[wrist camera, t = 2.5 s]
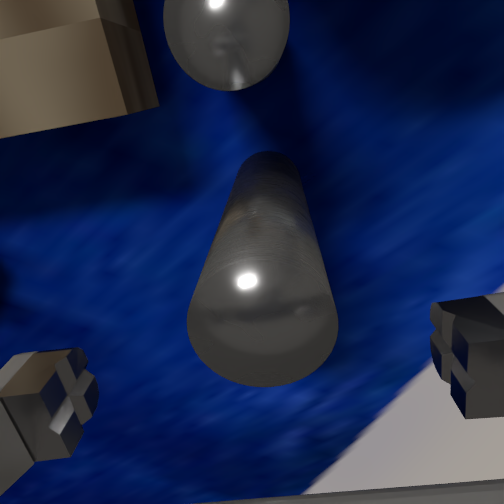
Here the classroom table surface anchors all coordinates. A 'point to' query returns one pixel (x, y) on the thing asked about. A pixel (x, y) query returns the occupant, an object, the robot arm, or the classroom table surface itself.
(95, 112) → the block
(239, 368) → the long pin
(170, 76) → the classroom table surface
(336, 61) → the classroom table surface
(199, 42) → the medium pin
